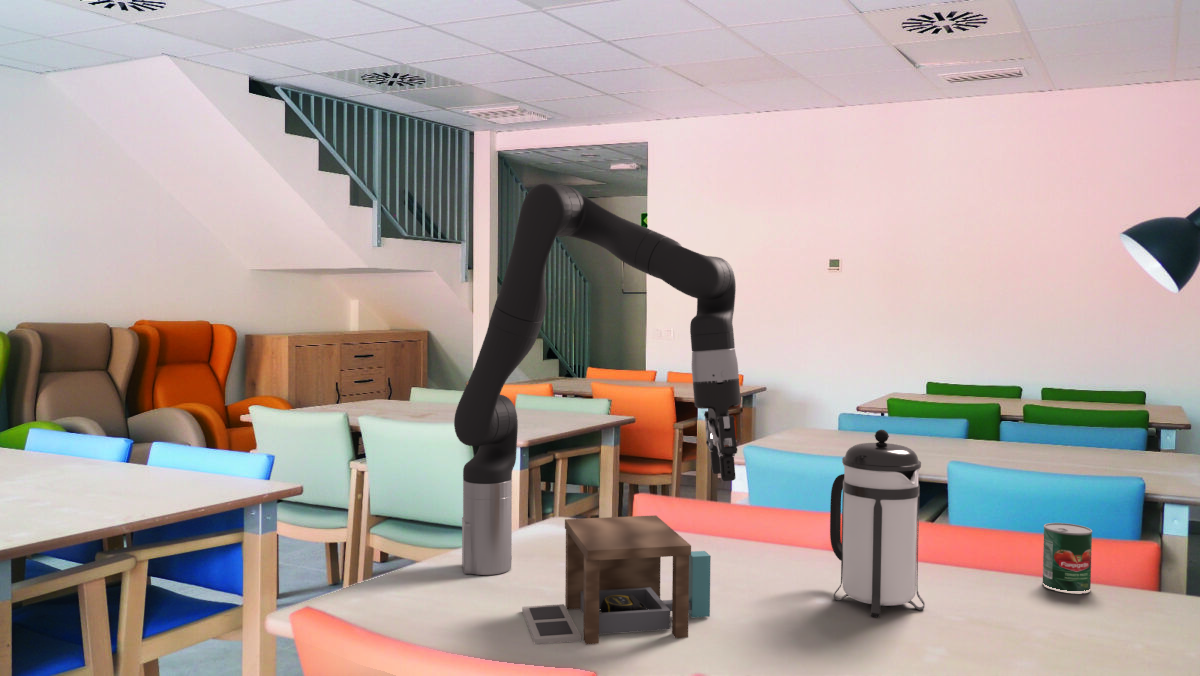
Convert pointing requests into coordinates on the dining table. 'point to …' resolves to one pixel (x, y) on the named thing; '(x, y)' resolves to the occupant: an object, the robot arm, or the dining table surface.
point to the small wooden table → (623, 565)
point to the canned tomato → (1067, 556)
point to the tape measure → (621, 604)
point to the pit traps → (550, 624)
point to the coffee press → (877, 523)
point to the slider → (657, 602)
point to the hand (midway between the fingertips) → (723, 476)
